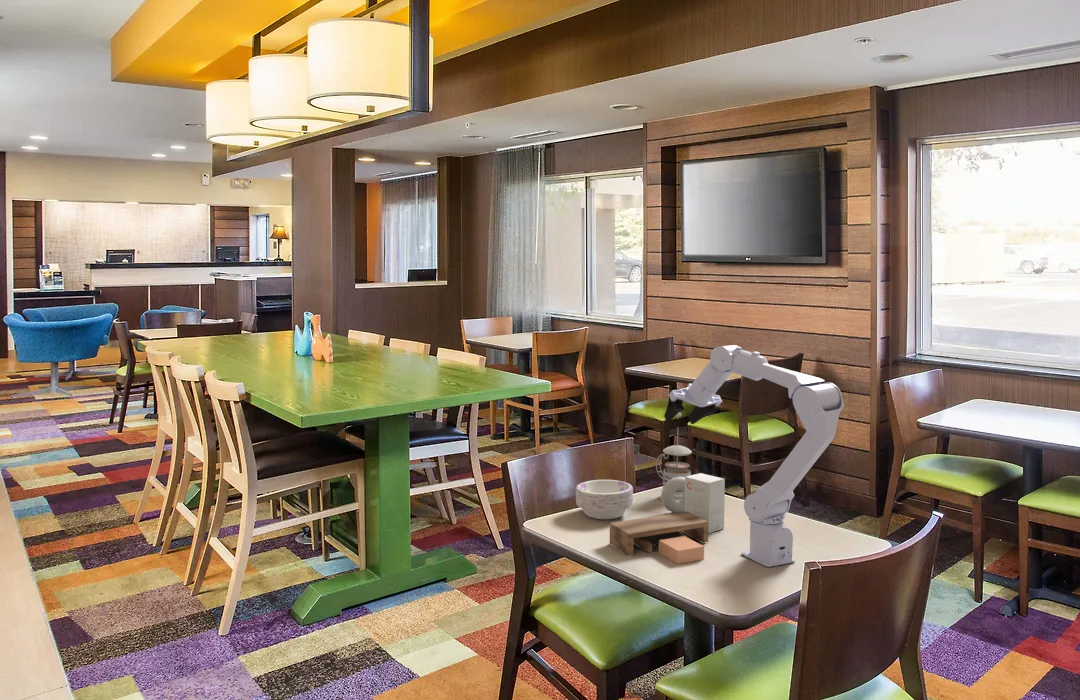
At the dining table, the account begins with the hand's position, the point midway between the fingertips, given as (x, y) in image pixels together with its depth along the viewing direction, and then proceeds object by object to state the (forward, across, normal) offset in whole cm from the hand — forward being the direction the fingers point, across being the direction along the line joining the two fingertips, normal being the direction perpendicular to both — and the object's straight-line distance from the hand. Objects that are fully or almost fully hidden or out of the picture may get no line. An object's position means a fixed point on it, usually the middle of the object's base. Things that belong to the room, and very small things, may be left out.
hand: (678, 419), depth 213 cm
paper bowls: (+34, +6, +5) cm, 35 cm away
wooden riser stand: (+18, +6, +25) cm, 31 cm away
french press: (+34, -20, -1) cm, 40 cm away
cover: (+12, +6, +32) cm, 35 cm away
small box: (+18, -11, +19) cm, 29 cm away
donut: (+27, -13, +9) cm, 31 cm away
